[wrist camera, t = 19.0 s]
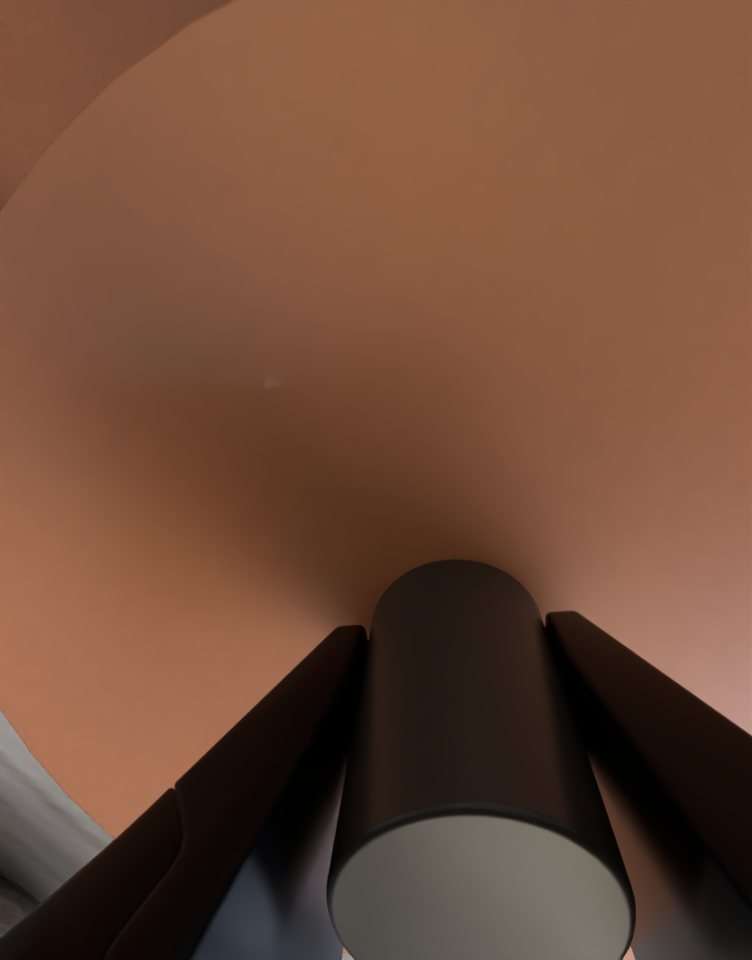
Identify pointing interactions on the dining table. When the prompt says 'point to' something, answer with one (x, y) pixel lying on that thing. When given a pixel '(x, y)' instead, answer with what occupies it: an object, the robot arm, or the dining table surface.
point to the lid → (388, 425)
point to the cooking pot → (13, 905)
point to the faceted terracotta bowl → (69, 64)
